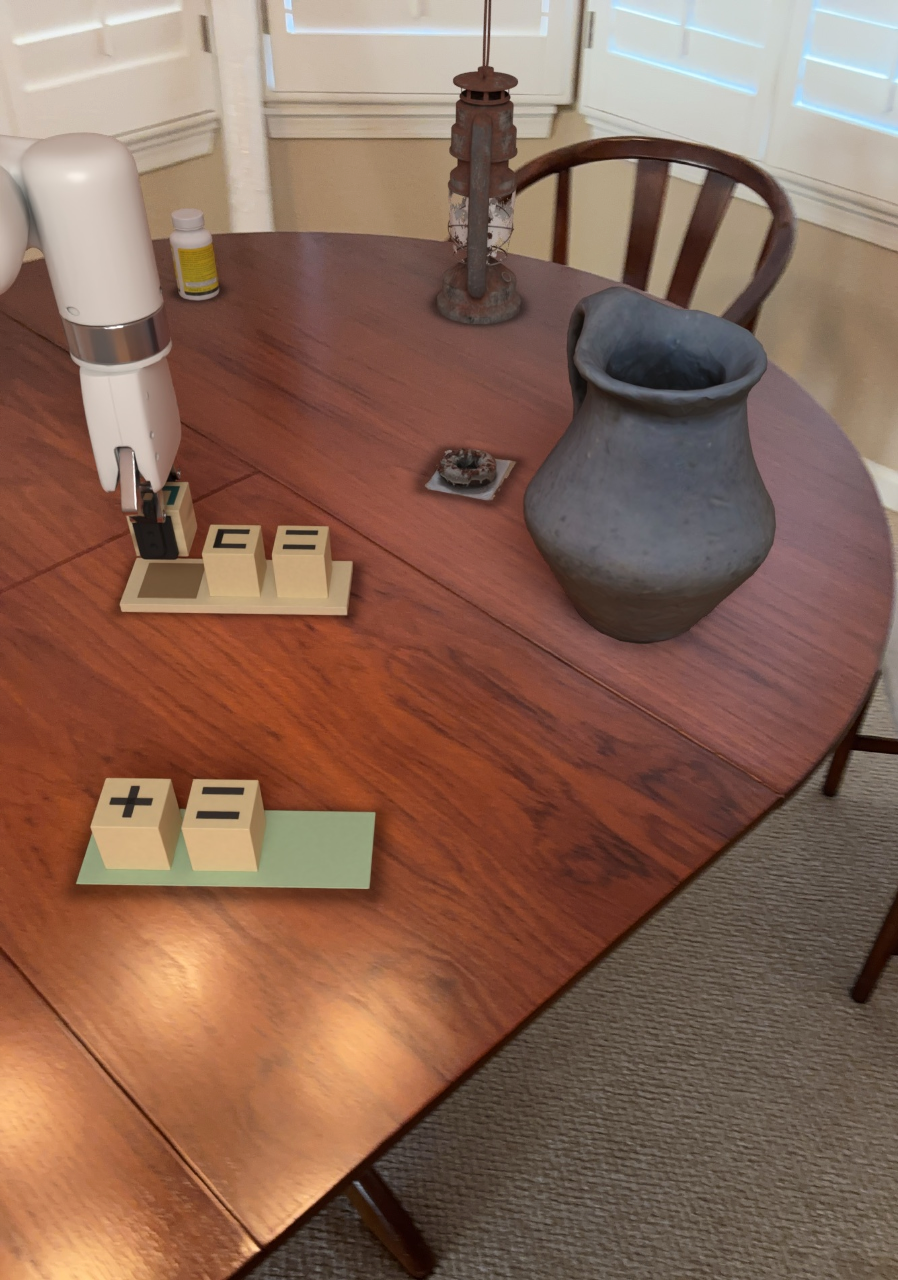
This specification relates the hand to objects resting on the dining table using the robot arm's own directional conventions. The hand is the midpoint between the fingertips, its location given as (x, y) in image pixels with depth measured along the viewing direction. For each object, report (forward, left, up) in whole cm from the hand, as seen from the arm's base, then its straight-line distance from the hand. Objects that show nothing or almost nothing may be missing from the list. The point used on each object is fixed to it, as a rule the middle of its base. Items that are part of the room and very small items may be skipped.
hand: (166, 538), depth 92 cm
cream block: (0, 0, 0) cm, 0 cm away
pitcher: (+41, -1, -6) cm, 41 cm away
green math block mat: (+10, -31, -5) cm, 33 cm away
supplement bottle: (-9, +65, -6) cm, 66 cm away
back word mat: (+6, 0, -5) cm, 8 cm away
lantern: (+28, +62, -6) cm, 68 cm away
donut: (+27, +20, -6) cm, 34 cm away
